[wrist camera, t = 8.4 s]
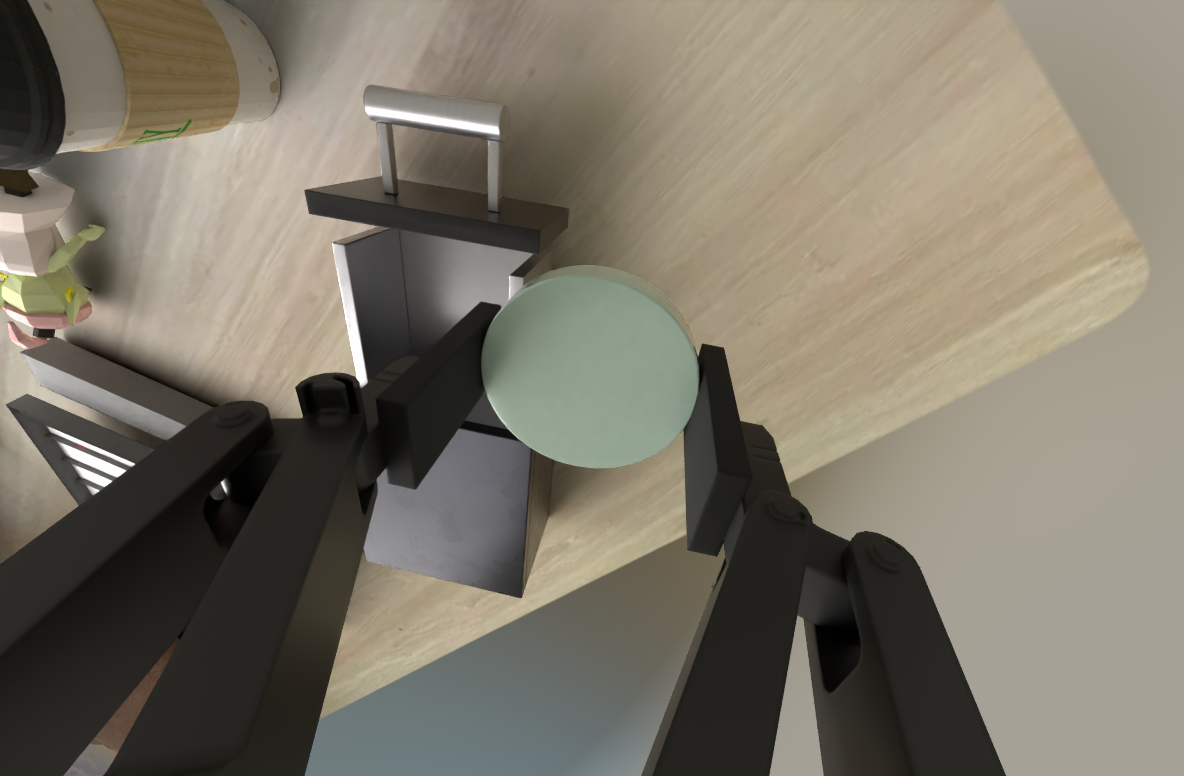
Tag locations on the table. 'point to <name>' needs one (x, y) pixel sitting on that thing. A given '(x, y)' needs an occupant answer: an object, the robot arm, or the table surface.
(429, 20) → the table surface
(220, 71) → the coffee cup
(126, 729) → the sphere
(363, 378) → the drawer
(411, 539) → the cabinet
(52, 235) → the figurine
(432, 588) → the table surface
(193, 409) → the shutter
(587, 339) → the plate
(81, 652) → the robot arm
